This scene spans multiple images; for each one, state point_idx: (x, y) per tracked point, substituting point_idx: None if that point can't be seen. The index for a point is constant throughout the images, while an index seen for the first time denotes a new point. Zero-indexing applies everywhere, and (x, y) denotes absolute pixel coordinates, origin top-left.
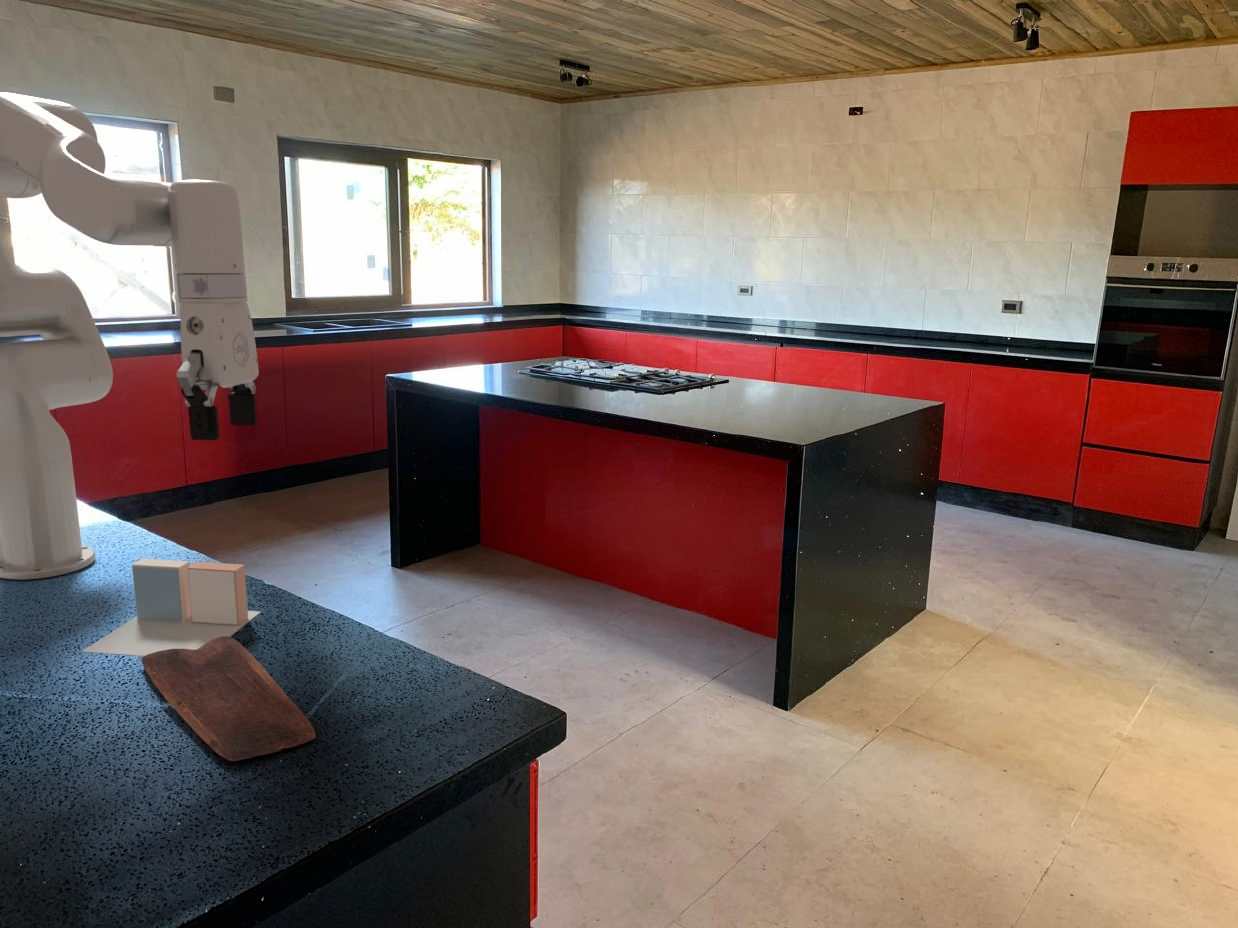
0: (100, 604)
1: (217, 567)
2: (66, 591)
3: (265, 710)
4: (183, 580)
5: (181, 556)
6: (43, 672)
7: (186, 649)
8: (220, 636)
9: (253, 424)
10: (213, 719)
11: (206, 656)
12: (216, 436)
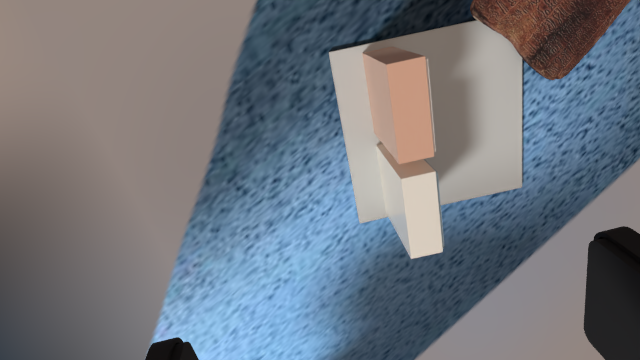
0: (371, 289)
1: (416, 105)
2: (347, 354)
3: None
4: (415, 163)
5: (170, 337)
6: (569, 185)
7: (536, 30)
8: (439, 44)
9: (179, 342)
10: None
11: None
12: (632, 236)
